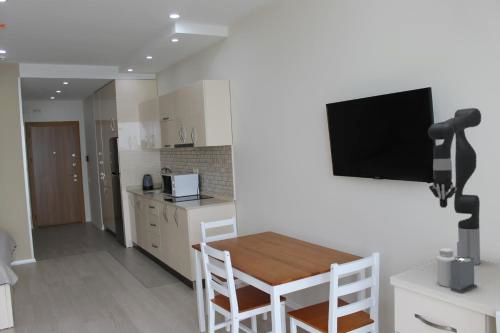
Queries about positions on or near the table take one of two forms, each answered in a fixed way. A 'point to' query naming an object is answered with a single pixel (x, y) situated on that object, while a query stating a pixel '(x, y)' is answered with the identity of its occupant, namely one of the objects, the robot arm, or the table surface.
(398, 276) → the table surface
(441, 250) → the pill bottle
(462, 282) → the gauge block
